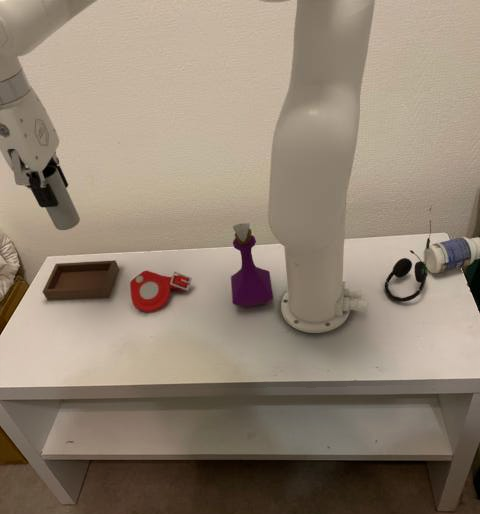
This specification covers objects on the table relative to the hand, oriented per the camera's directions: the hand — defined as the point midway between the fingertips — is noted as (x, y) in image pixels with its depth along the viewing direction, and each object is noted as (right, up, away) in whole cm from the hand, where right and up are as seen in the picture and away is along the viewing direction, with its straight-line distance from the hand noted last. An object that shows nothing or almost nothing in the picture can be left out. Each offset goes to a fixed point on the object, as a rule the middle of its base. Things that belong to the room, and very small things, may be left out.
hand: (54, 195), depth 82 cm
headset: (+68, +1, +6) cm, 69 cm away
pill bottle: (+67, -10, +7) cm, 68 cm away
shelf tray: (-1, -14, +20) cm, 24 cm away
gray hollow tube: (+1, -4, +4) cm, 6 cm away
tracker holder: (+16, -16, +15) cm, 27 cm away
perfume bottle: (+34, -17, +11) cm, 40 cm away
